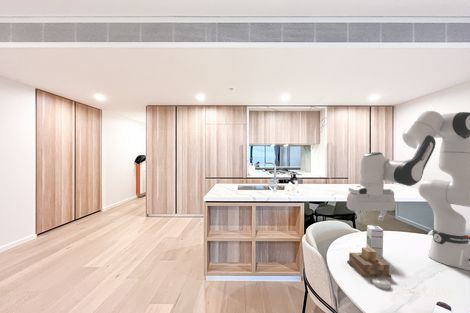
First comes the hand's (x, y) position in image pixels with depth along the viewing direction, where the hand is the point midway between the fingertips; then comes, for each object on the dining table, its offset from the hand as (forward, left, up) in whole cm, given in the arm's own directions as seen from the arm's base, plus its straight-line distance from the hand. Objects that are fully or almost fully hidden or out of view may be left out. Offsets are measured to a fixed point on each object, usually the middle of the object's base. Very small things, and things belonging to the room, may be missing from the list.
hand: (370, 220), depth 98 cm
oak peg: (0, 0, -21) cm, 21 cm away
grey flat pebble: (+2, +11, -23) cm, 25 cm away
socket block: (0, 0, -22) cm, 22 cm away
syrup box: (-12, -13, -22) cm, 28 cm away
